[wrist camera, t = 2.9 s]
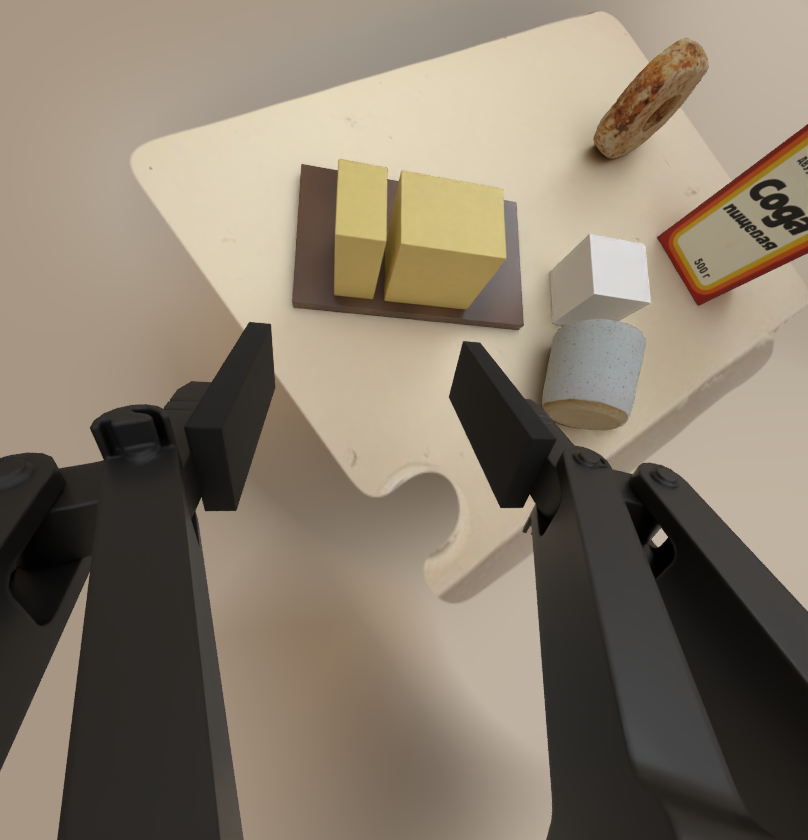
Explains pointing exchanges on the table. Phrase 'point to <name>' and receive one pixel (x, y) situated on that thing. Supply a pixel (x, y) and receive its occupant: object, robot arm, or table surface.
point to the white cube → (600, 281)
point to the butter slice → (359, 228)
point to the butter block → (442, 241)
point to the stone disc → (651, 98)
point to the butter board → (317, 261)
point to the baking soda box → (745, 224)
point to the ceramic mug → (593, 374)
